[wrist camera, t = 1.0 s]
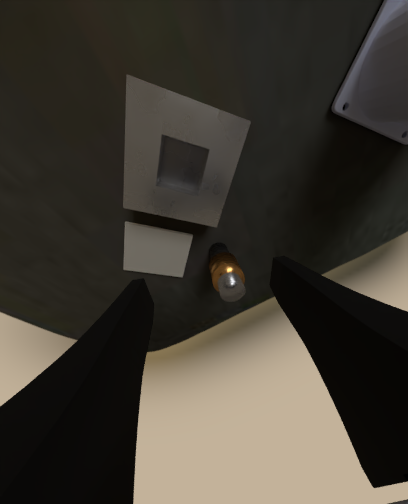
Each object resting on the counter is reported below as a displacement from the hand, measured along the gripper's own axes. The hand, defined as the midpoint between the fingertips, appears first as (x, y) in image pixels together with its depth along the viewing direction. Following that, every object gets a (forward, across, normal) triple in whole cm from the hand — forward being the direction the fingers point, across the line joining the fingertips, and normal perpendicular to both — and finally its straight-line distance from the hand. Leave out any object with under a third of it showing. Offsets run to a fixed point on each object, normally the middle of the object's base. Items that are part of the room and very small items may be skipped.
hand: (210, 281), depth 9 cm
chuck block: (+10, +1, -5) cm, 11 cm away
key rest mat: (+10, +5, +3) cm, 12 cm away
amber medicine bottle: (+10, -2, +4) cm, 11 cm away
